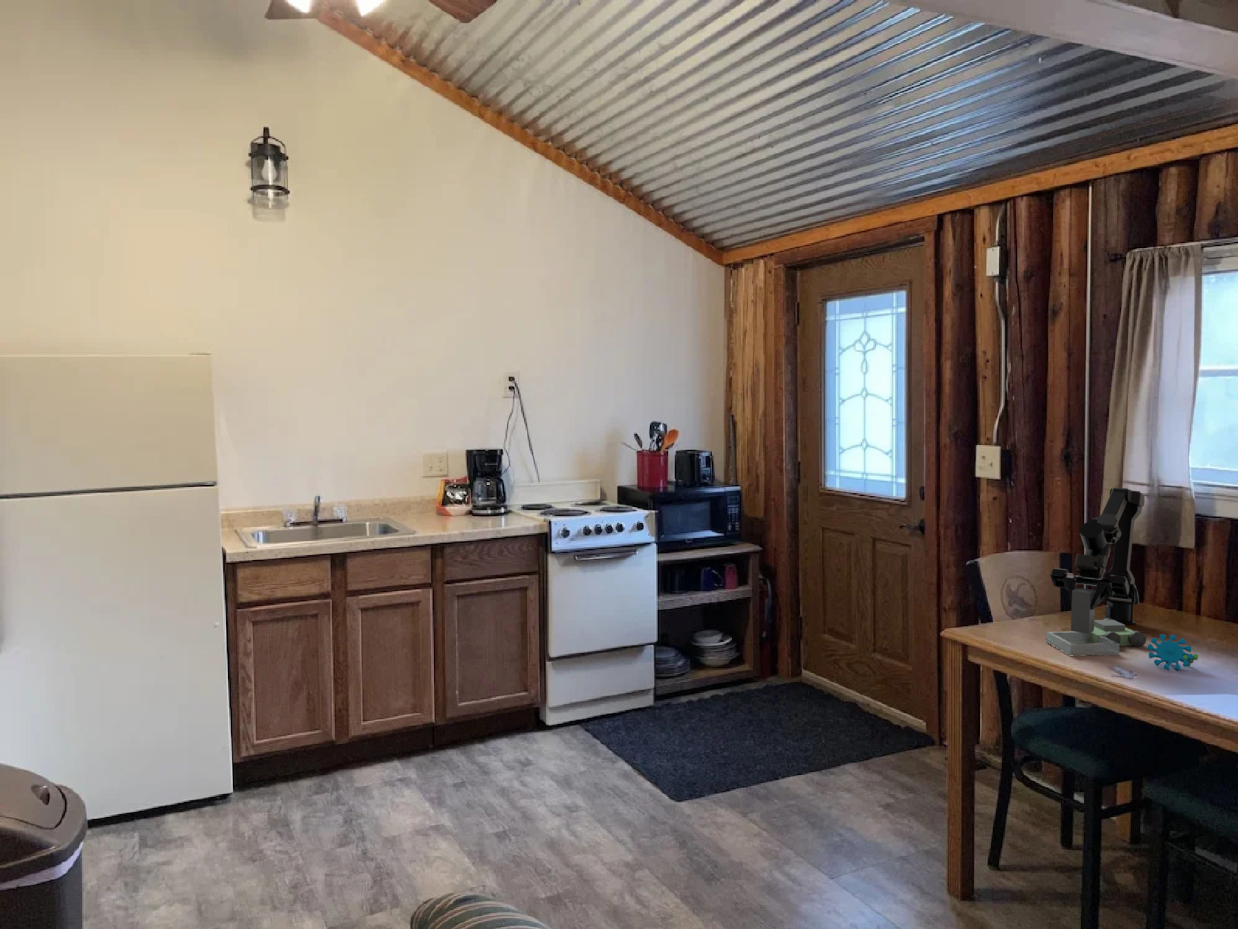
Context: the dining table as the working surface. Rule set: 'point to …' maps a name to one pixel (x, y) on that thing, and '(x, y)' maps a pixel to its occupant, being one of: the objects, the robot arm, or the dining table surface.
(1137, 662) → the dining table surface
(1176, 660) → the teal spiky round piece
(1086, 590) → the grey block
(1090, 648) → the grey tray
